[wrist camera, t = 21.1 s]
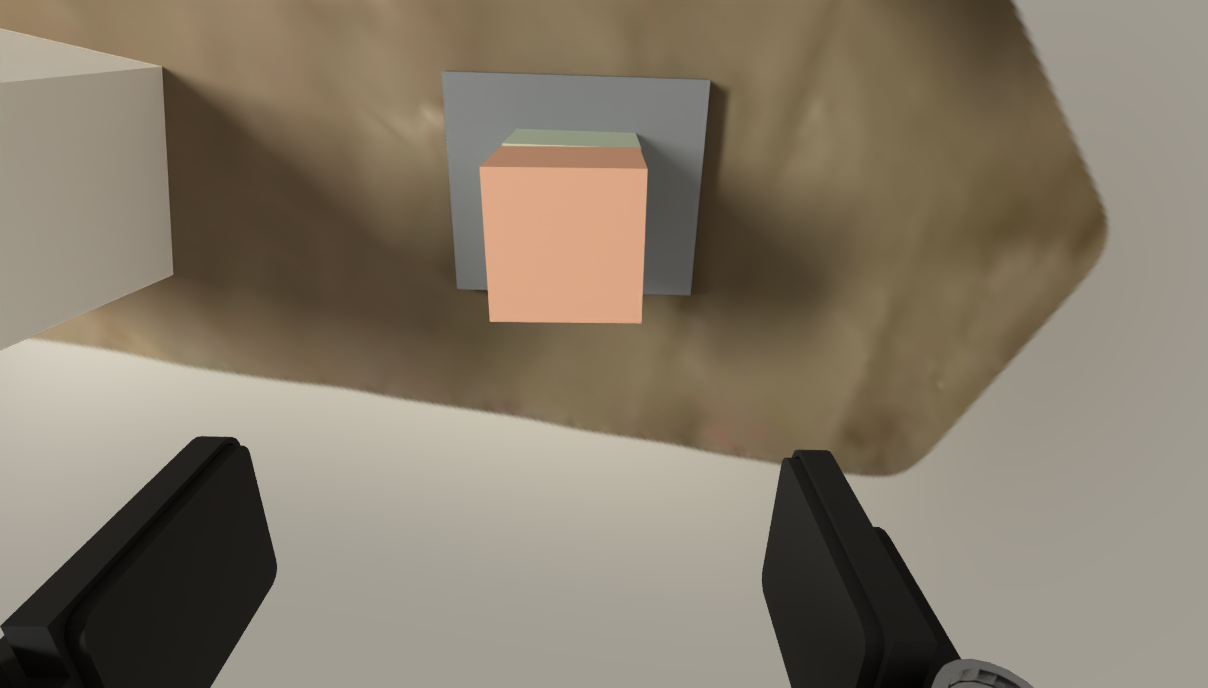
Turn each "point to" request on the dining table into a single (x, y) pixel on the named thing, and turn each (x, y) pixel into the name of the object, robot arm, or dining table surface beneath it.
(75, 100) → the milk
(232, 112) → the dining table surface
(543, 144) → the sage block
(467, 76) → the gray plate
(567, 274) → the terracotta block
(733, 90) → the dining table surface
